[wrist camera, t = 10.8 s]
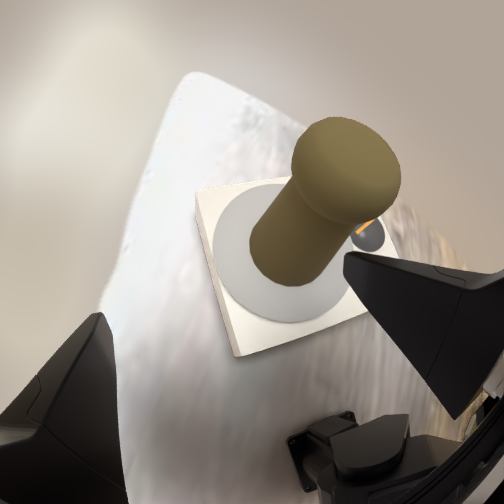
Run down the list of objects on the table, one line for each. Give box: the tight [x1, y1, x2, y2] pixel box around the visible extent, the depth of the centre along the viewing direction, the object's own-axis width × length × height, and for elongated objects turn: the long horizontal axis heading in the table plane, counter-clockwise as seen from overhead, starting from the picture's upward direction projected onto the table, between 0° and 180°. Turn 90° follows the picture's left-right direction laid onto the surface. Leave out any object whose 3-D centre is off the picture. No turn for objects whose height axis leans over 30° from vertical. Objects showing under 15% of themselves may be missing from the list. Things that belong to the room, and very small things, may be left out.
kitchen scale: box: [195, 176, 399, 357], centre depth 23 cm, size 13×16×5 cm
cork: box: [249, 117, 401, 287], centre depth 15 cm, size 6×6×11 cm
